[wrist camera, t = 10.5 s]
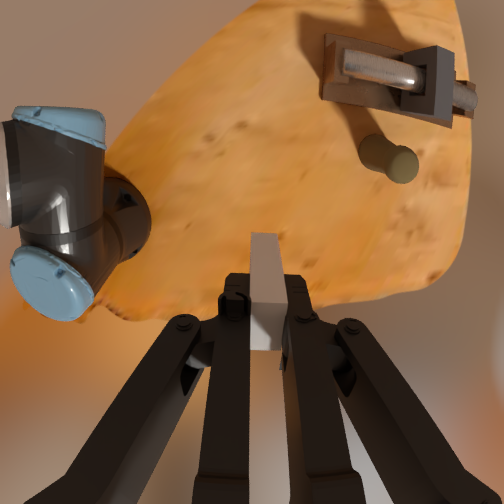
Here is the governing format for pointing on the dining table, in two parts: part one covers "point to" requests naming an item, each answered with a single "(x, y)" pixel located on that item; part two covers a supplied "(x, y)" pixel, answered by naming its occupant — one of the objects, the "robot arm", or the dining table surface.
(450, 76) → the collar
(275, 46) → the dining table surface
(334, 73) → the pipe rig
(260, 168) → the dining table surface
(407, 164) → the cork
